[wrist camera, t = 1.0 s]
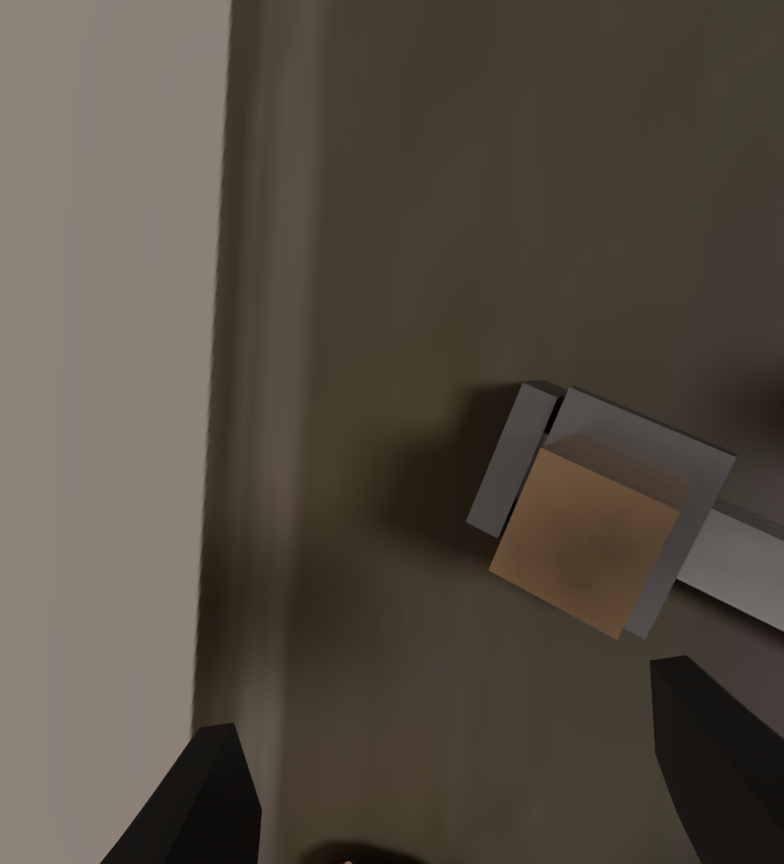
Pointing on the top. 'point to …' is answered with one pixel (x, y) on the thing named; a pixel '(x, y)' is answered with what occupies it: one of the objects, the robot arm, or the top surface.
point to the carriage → (610, 513)
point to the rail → (712, 550)
